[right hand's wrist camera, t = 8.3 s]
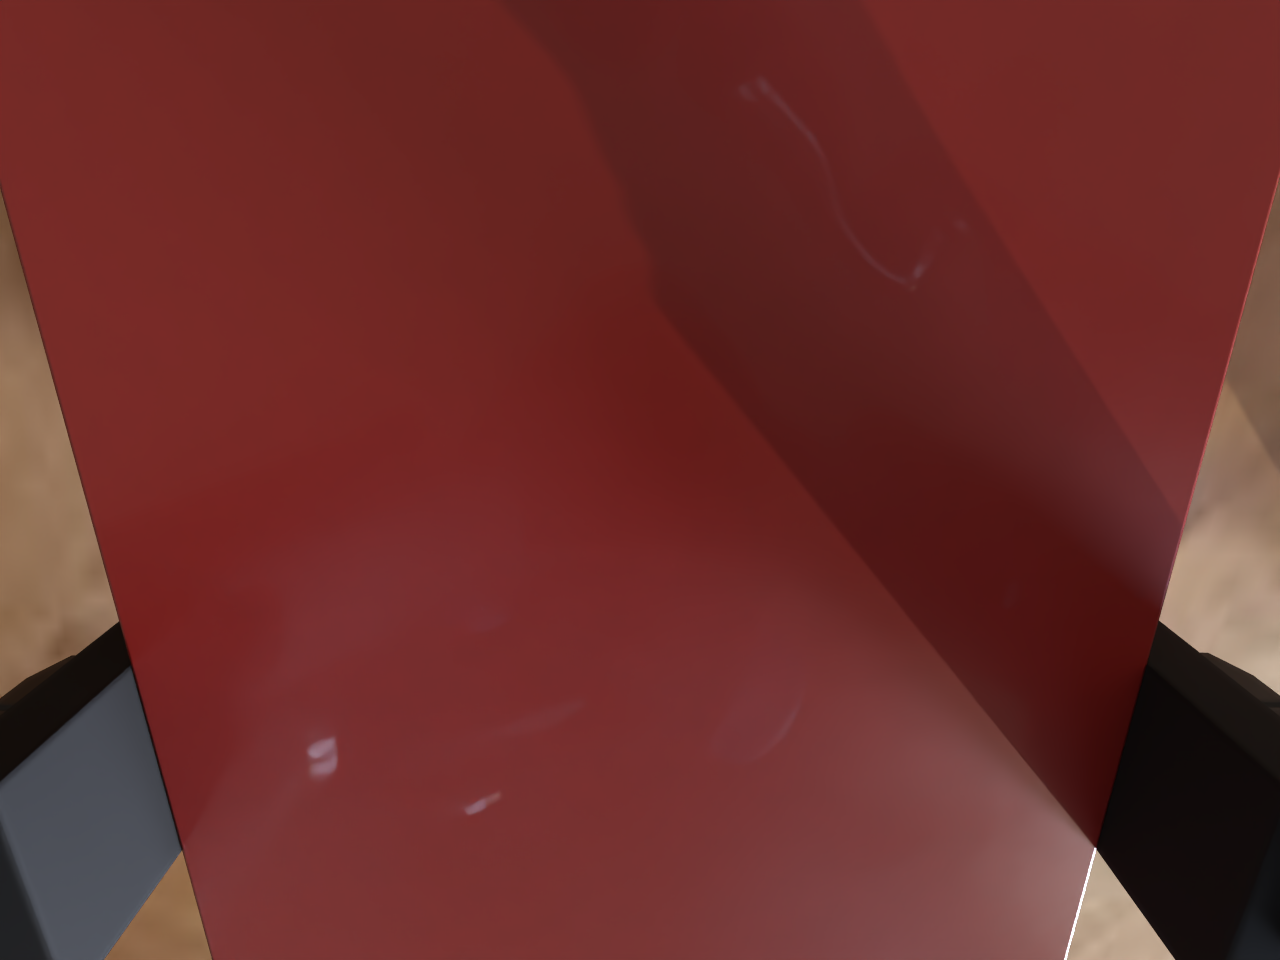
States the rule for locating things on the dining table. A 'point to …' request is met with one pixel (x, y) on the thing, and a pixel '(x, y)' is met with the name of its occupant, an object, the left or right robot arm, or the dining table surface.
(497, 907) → the cabinet
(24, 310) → the dining table surface
